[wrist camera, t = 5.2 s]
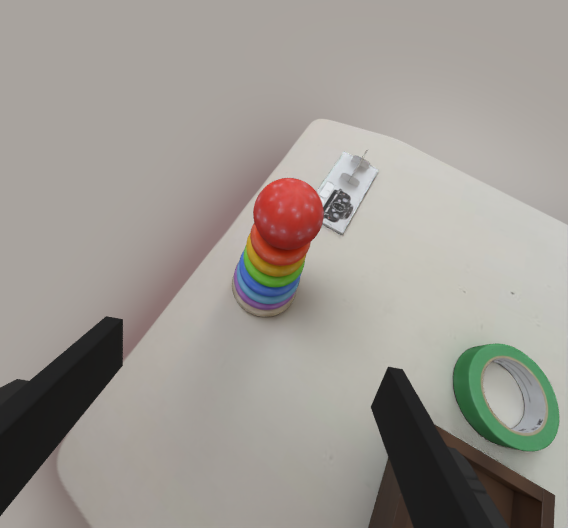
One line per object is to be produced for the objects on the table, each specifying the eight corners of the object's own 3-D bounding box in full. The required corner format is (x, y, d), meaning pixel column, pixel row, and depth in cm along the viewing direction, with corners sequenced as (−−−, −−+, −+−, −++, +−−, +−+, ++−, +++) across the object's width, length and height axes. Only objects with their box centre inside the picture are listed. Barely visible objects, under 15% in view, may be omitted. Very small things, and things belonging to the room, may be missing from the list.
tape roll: (523, 352, 36) (544, 350, 33) (549, 451, 31) (574, 457, 29) (446, 340, 35) (461, 337, 32) (460, 440, 30) (479, 445, 28)
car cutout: (343, 153, 46) (353, 130, 42) (377, 171, 45) (391, 150, 41) (302, 212, 40) (309, 193, 36) (341, 235, 39) (353, 217, 35)
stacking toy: (249, 329, 32) (259, 267, 15) (222, 272, 34) (204, 162, 17) (306, 301, 34) (370, 220, 17) (277, 250, 36) (309, 134, 20)
